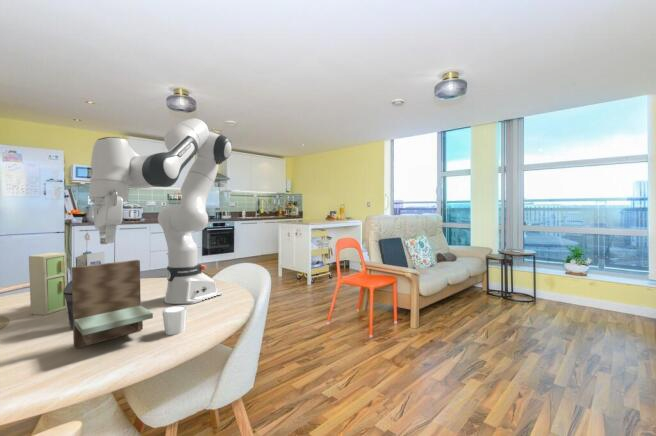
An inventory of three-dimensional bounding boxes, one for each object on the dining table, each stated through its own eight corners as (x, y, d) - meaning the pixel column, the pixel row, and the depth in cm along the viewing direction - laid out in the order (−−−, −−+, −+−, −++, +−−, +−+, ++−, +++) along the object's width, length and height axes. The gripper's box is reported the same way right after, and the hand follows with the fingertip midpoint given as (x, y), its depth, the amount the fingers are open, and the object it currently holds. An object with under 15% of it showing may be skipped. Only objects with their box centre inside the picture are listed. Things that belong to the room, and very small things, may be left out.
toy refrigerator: (46, 315, 107) (44, 256, 106) (29, 314, 108) (28, 255, 108) (69, 308, 115) (68, 253, 114) (54, 306, 116) (52, 252, 115)
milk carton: (87, 303, 120) (86, 253, 120) (75, 301, 122) (74, 252, 122) (105, 298, 127) (104, 250, 126) (94, 297, 129) (93, 250, 128)
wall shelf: (138, 329, 96) (137, 259, 95) (153, 340, 88) (151, 264, 87) (73, 346, 84) (71, 267, 83) (83, 361, 76) (81, 273, 75)
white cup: (170, 337, 90) (170, 314, 90) (158, 332, 94) (157, 310, 93) (191, 329, 96) (191, 307, 96) (179, 325, 100) (178, 304, 99)
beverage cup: (75, 322, 101) (74, 262, 100) (99, 322, 102) (97, 262, 101) (58, 331, 94) (56, 267, 93) (83, 331, 94) (81, 267, 94)
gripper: (130, 189, 79) (128, 242, 78) (116, 199, 94) (113, 244, 92) (100, 185, 75) (97, 242, 73) (90, 197, 90) (87, 244, 88)
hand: (106, 243), depth 83 cm, fingers open, 8 cm apart
